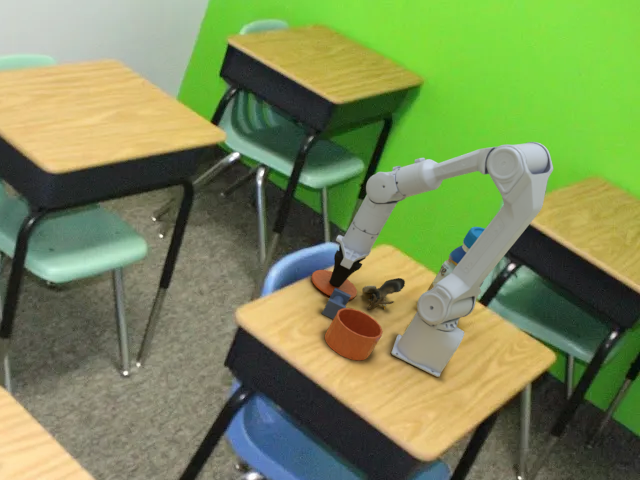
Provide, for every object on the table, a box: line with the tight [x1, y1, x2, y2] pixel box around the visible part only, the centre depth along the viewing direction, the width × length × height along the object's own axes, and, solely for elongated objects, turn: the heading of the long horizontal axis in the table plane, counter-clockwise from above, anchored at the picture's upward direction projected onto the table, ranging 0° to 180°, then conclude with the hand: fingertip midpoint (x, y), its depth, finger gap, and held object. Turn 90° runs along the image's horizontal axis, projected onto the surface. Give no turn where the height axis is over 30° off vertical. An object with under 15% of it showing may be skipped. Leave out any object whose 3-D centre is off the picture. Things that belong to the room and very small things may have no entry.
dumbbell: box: [321, 288, 351, 320], centre depth 183 cm, size 6×3×3 cm, turn 152°
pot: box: [324, 307, 384, 361], centre depth 174 cm, size 9×9×5 cm
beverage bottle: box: [426, 226, 486, 292], centre depth 188 cm, size 8×8×20 cm
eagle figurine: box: [361, 277, 406, 311], centre depth 189 cm, size 8×7×9 cm
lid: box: [311, 269, 358, 301], centre depth 190 cm, size 10×10×4 cm
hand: (336, 281), depth 191 cm, fingers closed on lid, 2 cm apart
